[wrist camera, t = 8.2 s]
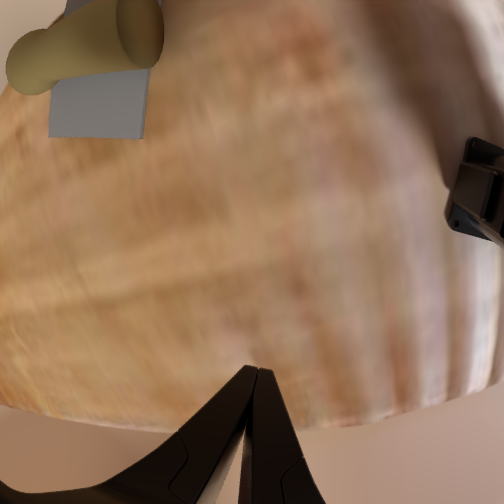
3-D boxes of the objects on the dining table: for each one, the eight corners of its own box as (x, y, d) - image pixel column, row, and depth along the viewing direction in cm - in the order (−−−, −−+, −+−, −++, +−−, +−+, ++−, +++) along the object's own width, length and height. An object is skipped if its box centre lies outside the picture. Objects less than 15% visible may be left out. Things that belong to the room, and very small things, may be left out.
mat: (177, -59, 13) (175, -61, 13) (142, 138, 20) (139, 139, 19) (81, -37, 14) (78, -38, 14) (51, 136, 21) (48, 137, 20)
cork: (167, 4, 16) (52, 43, 18) (124, -36, 10) (2, 27, 12) (161, 79, 18) (44, 108, 19) (109, 53, 12) (-11, 102, 14)
